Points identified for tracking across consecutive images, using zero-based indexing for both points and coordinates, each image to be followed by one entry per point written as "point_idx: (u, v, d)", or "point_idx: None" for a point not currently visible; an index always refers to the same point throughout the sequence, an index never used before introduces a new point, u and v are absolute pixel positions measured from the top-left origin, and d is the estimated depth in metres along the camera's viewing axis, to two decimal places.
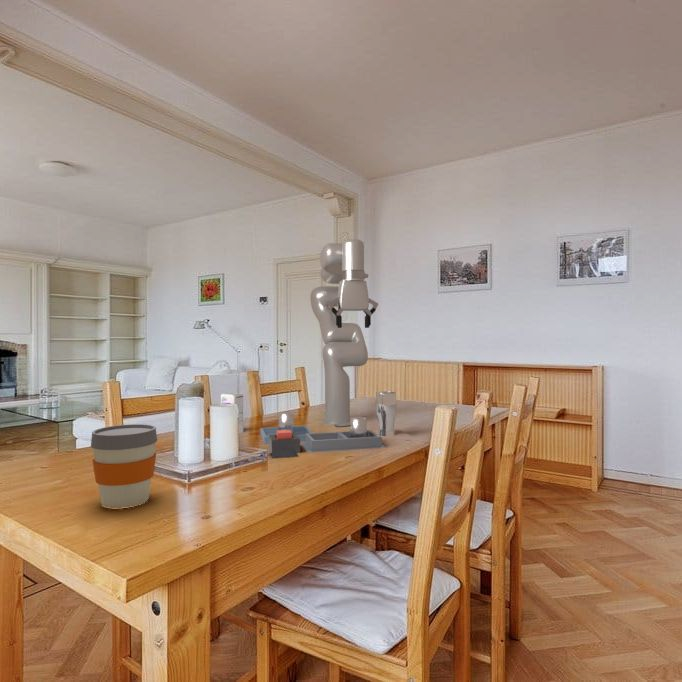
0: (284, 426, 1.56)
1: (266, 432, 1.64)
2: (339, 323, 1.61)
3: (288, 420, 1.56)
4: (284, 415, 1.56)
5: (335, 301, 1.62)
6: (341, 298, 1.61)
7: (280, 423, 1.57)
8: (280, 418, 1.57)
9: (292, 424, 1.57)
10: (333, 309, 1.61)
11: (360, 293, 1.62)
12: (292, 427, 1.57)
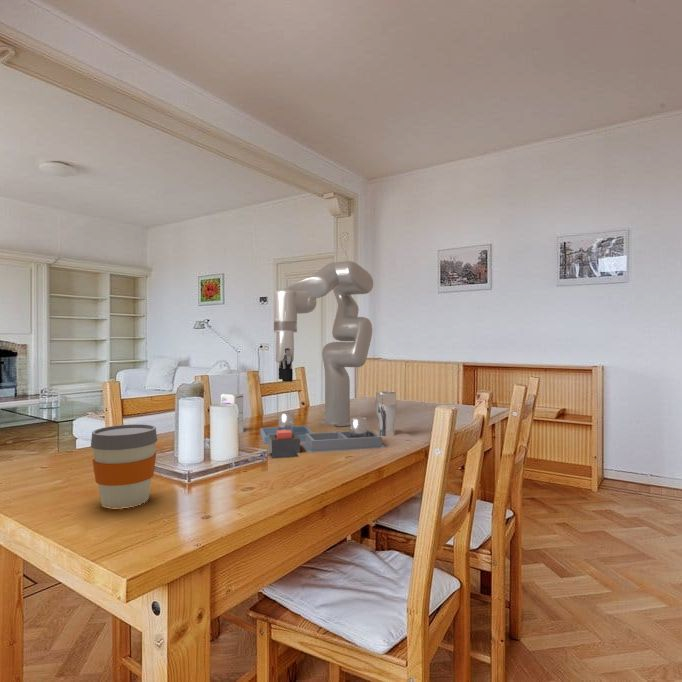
0: (284, 426, 1.56)
1: (266, 432, 1.64)
2: (291, 377, 1.53)
3: (288, 420, 1.56)
4: (284, 415, 1.56)
5: None
6: (293, 351, 1.54)
7: (280, 423, 1.57)
8: (280, 418, 1.57)
9: (292, 424, 1.57)
10: (291, 362, 1.51)
11: None
12: (292, 427, 1.57)
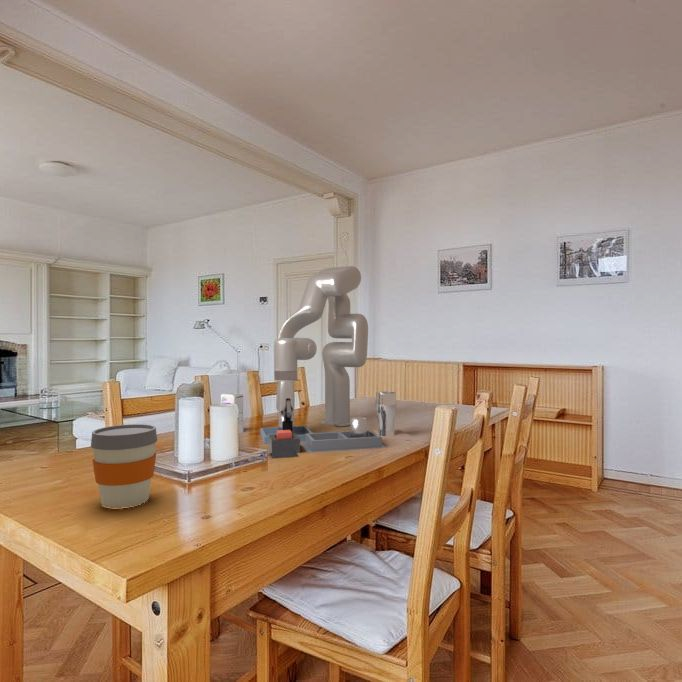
0: None
1: (266, 432, 1.64)
2: (291, 429, 1.56)
3: None
4: None
5: None
6: None
7: (280, 423, 1.57)
8: (280, 418, 1.57)
9: None
10: (290, 415, 1.54)
11: None
12: None
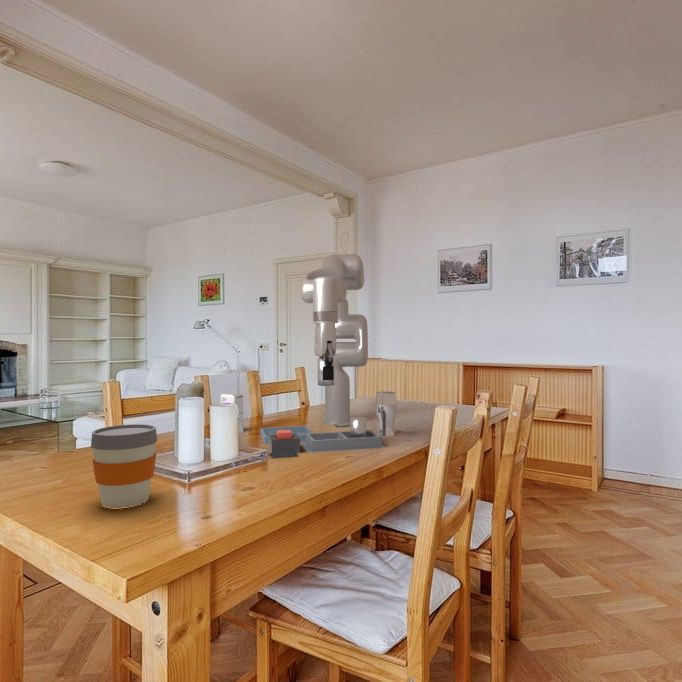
0: None
1: (266, 432, 1.64)
2: (332, 375, 1.43)
3: None
4: None
5: None
6: (335, 343, 1.41)
7: (320, 369, 1.43)
8: (319, 364, 1.44)
9: None
10: (332, 359, 1.41)
11: None
12: None
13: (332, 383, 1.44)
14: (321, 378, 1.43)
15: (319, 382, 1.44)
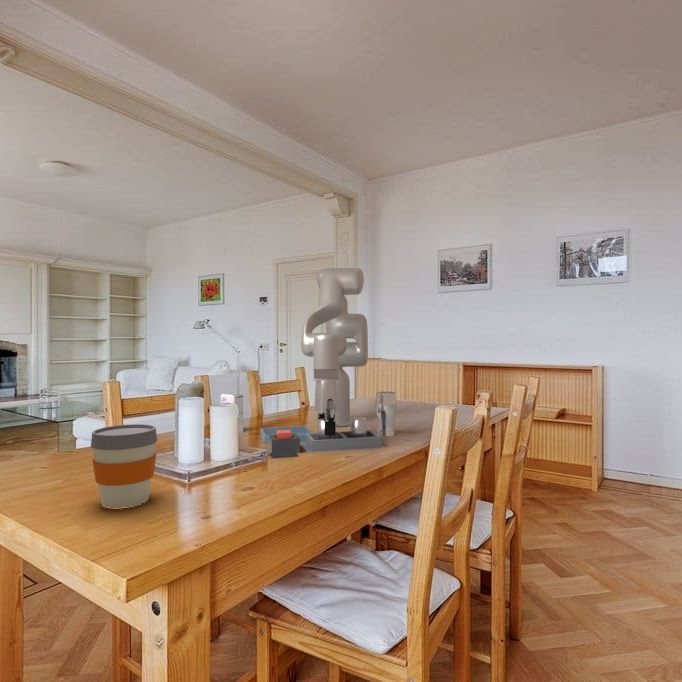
0: None
1: (266, 432, 1.64)
2: (334, 430, 1.41)
3: None
4: None
5: None
6: (336, 401, 1.41)
7: (320, 431, 1.44)
8: (320, 426, 1.44)
9: None
10: None
11: None
12: (333, 436, 1.44)
13: None
14: None
15: None
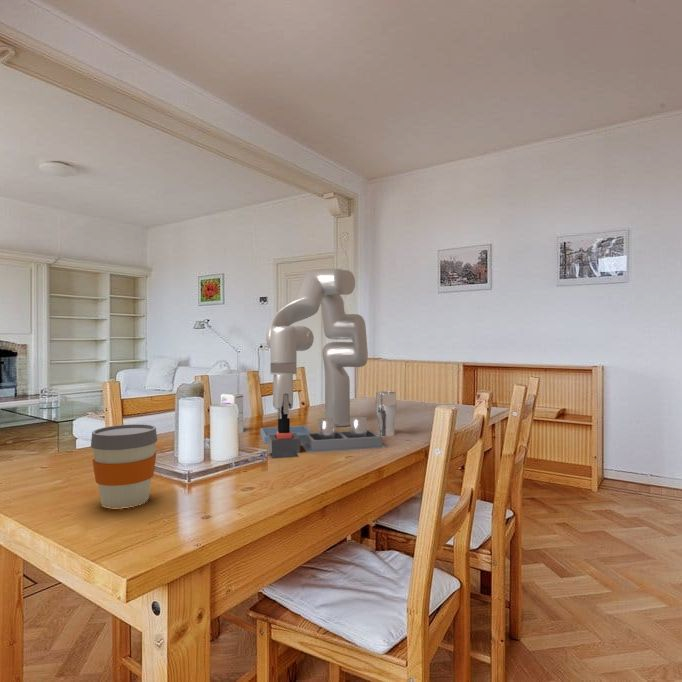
0: (325, 434, 1.43)
1: (266, 432, 1.64)
2: (288, 427, 1.40)
3: (329, 428, 1.43)
4: (325, 422, 1.43)
5: (287, 405, 1.36)
6: (292, 396, 1.36)
7: (320, 431, 1.43)
8: (320, 426, 1.44)
9: (333, 432, 1.44)
10: (287, 412, 1.38)
11: None
12: (333, 436, 1.44)
13: None
14: None
15: None
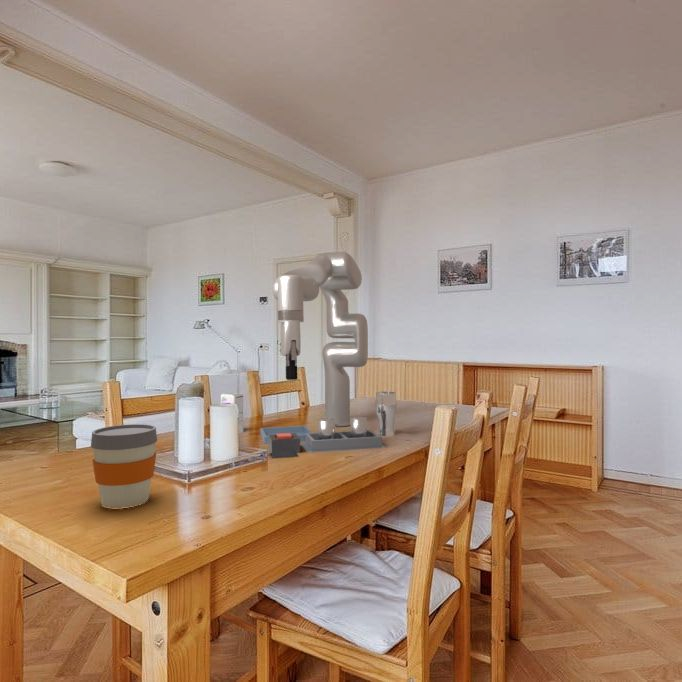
0: (324, 434, 1.43)
1: (266, 432, 1.64)
2: (295, 374, 1.43)
3: (329, 428, 1.43)
4: (324, 422, 1.43)
5: None
6: (300, 343, 1.39)
7: (320, 431, 1.44)
8: (319, 426, 1.44)
9: (333, 432, 1.44)
10: (295, 359, 1.41)
11: None
12: (333, 435, 1.44)
13: None
14: None
15: None
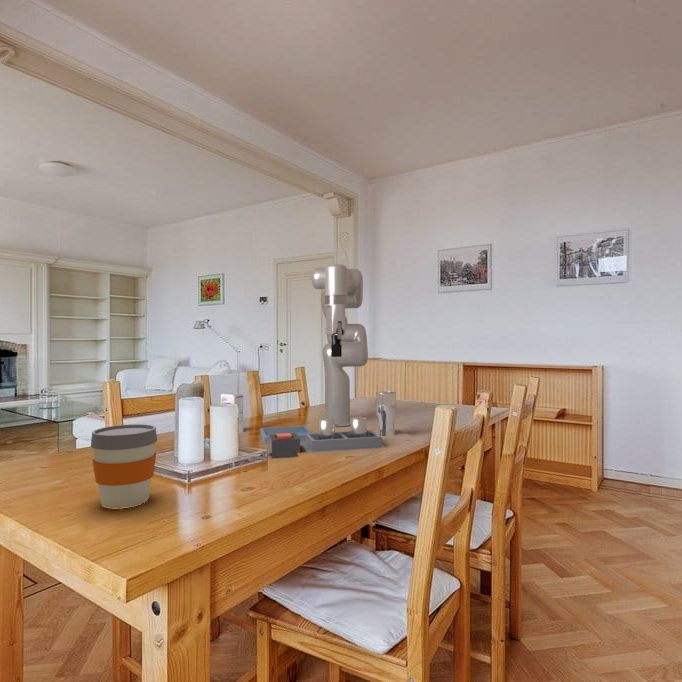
0: (324, 434, 1.43)
1: (266, 432, 1.64)
2: (340, 352, 1.62)
3: (329, 428, 1.43)
4: (324, 422, 1.43)
5: None
6: (345, 324, 1.58)
7: (320, 431, 1.44)
8: (320, 425, 1.44)
9: (333, 432, 1.44)
10: (340, 338, 1.60)
11: None
12: (333, 436, 1.44)
13: None
14: None
15: None
